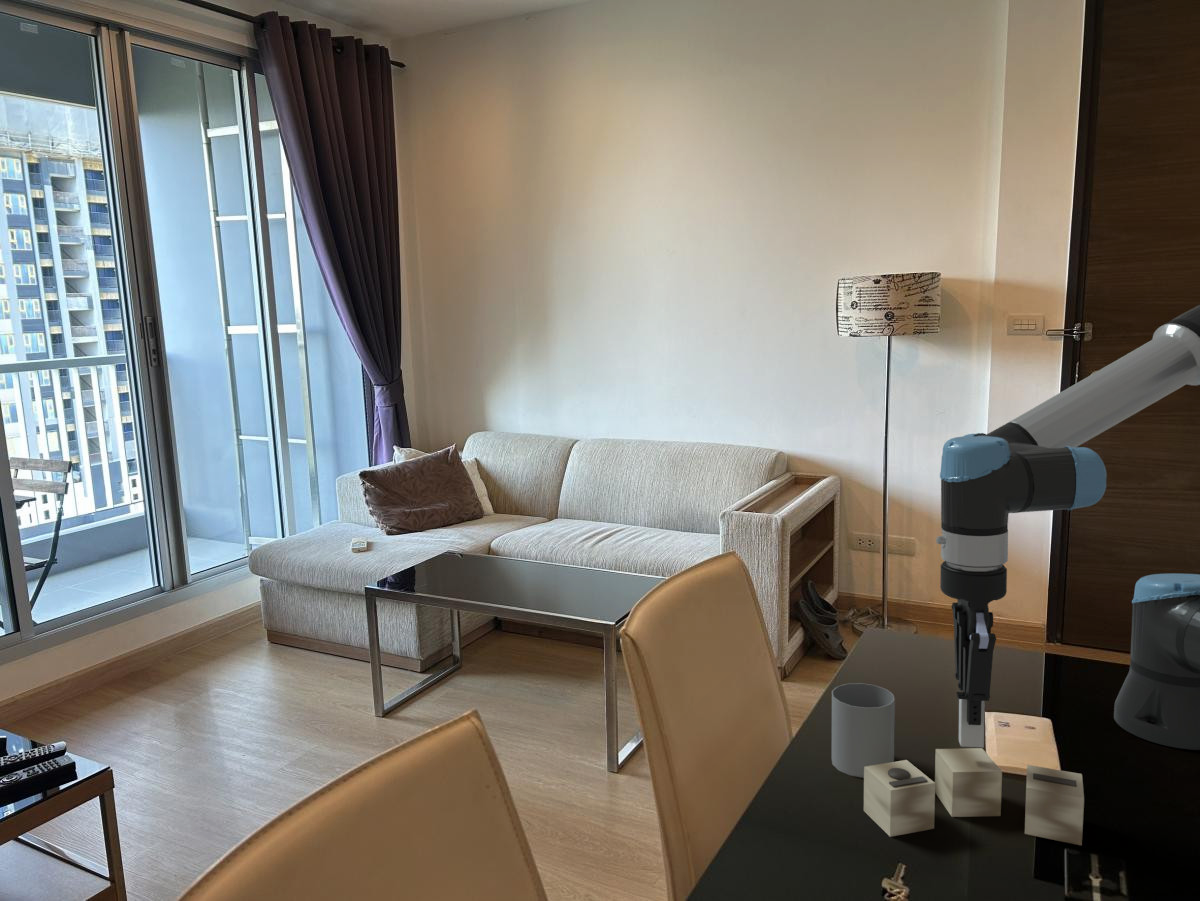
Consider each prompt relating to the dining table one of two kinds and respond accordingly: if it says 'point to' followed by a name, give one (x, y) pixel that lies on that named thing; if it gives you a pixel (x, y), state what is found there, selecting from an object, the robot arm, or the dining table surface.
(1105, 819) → the dining table surface
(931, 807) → the striped block
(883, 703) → the cup
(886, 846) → the dining table surface
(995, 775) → the plain block
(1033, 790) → the striped block
